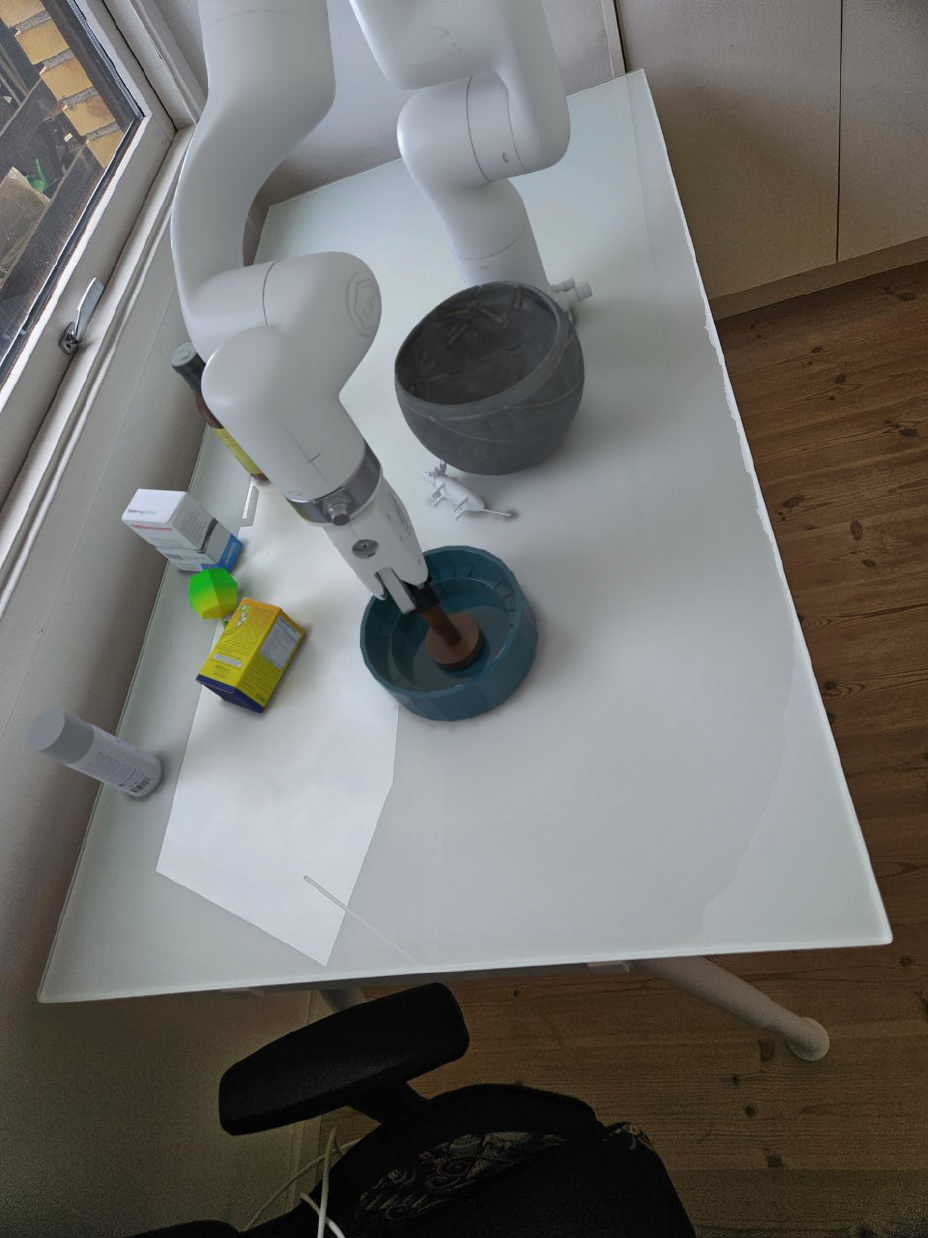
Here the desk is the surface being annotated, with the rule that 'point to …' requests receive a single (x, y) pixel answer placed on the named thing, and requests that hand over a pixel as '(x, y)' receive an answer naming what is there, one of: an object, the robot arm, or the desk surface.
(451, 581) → the mixing bowl
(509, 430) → the bowl
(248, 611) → the supplement box
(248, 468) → the sauce bottle
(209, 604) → the green faceted rounded lump
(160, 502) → the ink box
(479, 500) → the white plastic figurine
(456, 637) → the wooden potato masher
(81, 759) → the container
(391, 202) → the desk surface
